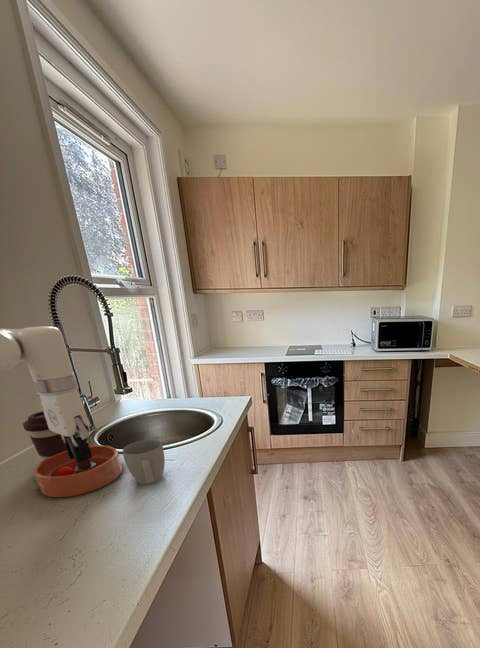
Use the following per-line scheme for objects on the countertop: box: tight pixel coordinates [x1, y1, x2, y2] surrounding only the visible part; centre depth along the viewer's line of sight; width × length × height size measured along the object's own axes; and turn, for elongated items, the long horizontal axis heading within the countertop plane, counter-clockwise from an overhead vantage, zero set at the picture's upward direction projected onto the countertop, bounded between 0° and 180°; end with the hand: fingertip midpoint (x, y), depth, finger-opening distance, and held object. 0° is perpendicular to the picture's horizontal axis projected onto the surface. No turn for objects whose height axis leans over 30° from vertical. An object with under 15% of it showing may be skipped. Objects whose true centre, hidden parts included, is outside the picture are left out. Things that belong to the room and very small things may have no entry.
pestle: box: [67, 435, 96, 474], centre depth 85 cm, size 4×4×11 cm
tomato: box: [57, 467, 74, 476], centre depth 88 cm, size 4×4×4 cm
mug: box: [122, 439, 166, 486], centre depth 85 cm, size 12×9×10 cm
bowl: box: [33, 444, 123, 498], centre depth 88 cm, size 17×17×6 cm
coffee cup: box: [22, 410, 67, 461], centre depth 96 cm, size 10×10×15 cm
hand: (80, 457), depth 85 cm, fingers closed on pestle, 2 cm apart
